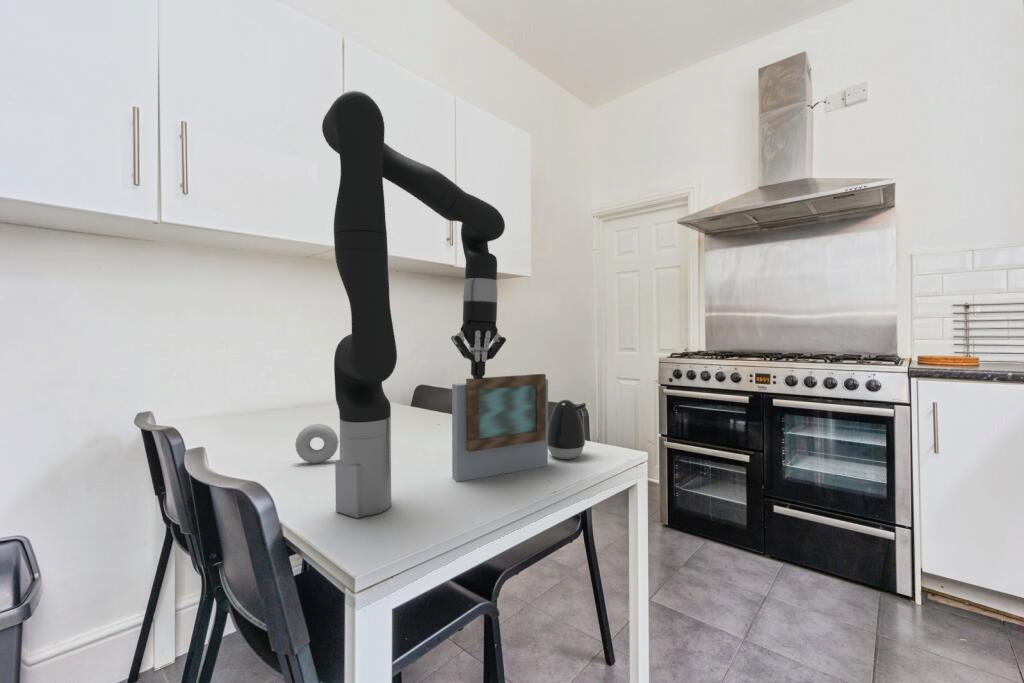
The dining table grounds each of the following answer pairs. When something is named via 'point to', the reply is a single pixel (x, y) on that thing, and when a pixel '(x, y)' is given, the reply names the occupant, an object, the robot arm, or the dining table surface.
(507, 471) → the wall board
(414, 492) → the dining table surface
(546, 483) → the dining table surface
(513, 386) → the picture frame
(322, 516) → the dining table surface
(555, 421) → the black electric kettle
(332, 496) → the dining table surface
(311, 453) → the donut
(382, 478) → the robot arm
